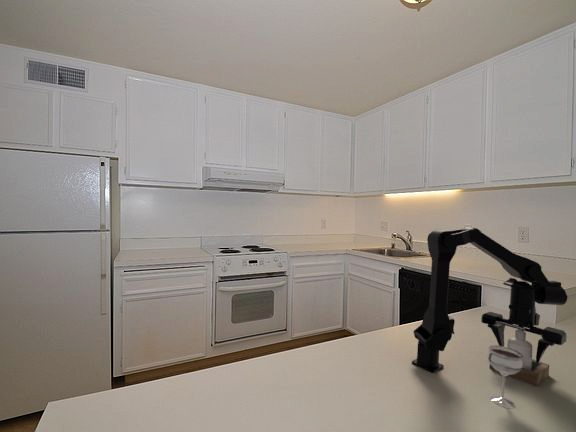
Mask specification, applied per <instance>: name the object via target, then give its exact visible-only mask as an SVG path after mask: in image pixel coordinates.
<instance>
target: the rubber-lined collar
mask: <svg viewBox="0 0 576 432" xmlns="http://www.w3.org/2000/svg"><path fill="white" fill-rule="evenodd" d="M489 369H492V370H495V369H494V368H493V366H492V365H491V364H490V363H489ZM495 371H496V372H498V371H497V370H495ZM549 375H550V364H549V363H545V362H541V361H539V363H537V362H536V359H533V358H532V368H531V370H528V369H525V368H523V367H522V369H521V371H520V372H518V373H516V374H514V375H508V376H510V377H512V378H514V379H517V380H520V381H522V382H525V383H527V384H530V385H532V386H535V387H538V386H539V385H540V384H541V383H542V382H543V381H544V380H546V379H547V377H549Z"/></svg>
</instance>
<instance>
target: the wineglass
mask: <svg viewBox="0 0 576 432" xmlns="http://www.w3.org/2000/svg"><path fill="white" fill-rule="evenodd" d="M488 350H489V351H488V353H487V360H488V362H489V365H490V364H491V365H492V366H493V368H494V369H495V371H496V370H497V371H496V372H499V374H500V375H501V396H500V395H498V394H497V395H494V394H493V395H490V396H489V398H490V400H491V402H493V403H494V404H495V405H498V406H500V407H502V408H506V409H514V408H516V406H517V405H516V404H515V403H514V402H513V401H512V400H511V399H508V398H507V397H505V389H506V388H505V387H506V379H507V376H509V375H514V374H516V373H518V372H520V371H521V369H522V366H523V363H522V360H521V358H522V357H523V355H522V354H521V353H519V352H518V351H516V350H513V349H510V348H507V346H504V347H503V346H499V345H494V344H492V345H489V346H488ZM494 369H493V370H494Z"/></svg>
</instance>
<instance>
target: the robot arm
mask: <svg viewBox="0 0 576 432" xmlns="http://www.w3.org/2000/svg"><path fill="white" fill-rule="evenodd" d="M426 238H427V239H426V241H427V248H428V249H427V250H428V252H429V255H430V258H431V267H430V268H431V270H430V284H429V285H430V286H429V300H428V301H429V302H428V307H427V310H426V311H425V312H424V314H423V317H422V318H423V319H422V322H421V324H420V325H418V327H417V328H415V329H414V330H413V335H414V339H416V340H417V354H416V358H415V359H413V360H411V363H412V364H414V365H415V366H417V367H420V368H422V369H424V370H426V371H428V372H430V373H436V372H437V371H438V370H441V369H443V368H444V366H445V365H444V364H442V363H439V362H440V352H444V351H445V350H446V347H447V344H448V343H449V341H451V340H452V337H453V335H455V334H456V333H455V331H454V326H455V320H456V319H454V318H453V317H451V316H450V315H449V314H448V299H449V281H450V265H451V261H452V260H453V258H454V256H455V255H456V251H457V248H458V247H460V246H465V245H467V244H471V245H472V246H474V247H475V248H476V249H478V250H479V251H482V252H483V253H484V254H486V255H487V256H489V257H491V258H492V259H494V260H495V261H497V263H499V264H500V265H501V267H502V269H504V270H505V271H506V272H507V273H508V274H509V275H510V276H511V277H510V278H508V279H507V280H505V281H504V282H503V283H502V284H503V285H505V286H508V287H510V295H509V296H510V297H509V298H510V299H509V304H508V309H509V311H508V313H509V315H508V316H509V317H508V318H504V316H503V314H501V313H497V312H493V311H487V312H484V313H483V314H482V315H481V318H480V319H481V321H480V322H481V323H483V324H486V325H487V328H489V329H490V330H491V331H492V333H493V335H494V337H495V339H496V341H497V344H498V346H503V347H505V329H506V327H510V328H514V329H515V330H518V329H519V328H520V329H521V330H523V331H524V332H526V333H527V332H528V333H531V334H535V335H539V336H541V338H540V339H538V340H537V341H538V342H537V347H536V353H535V354H536V355H535V360H536V362H537V363H539V362H541V359H542V357H543V356H544V354H545V352H546V351H547V348H549V346H550V347H553V346H555V345H557V346H562V345H564V344H565V343H566V342H567V333H566V332H565V330H562V329H559V328H554V327H552V326H546V327H545V328H541V327H539V324H540V319H541V315H540V314H539V313H537V309H536V303H537V304H539V305H549V306H550V305H551V306H552V305H553V306H563V305H565V304H566V303H567V301H568V295H567V292H566V290H565V289H564V288H563V287H562V282H560V281H557V280H548V278H547V277H546V275H545V274H544V272H543V271H542V266H541V265H540V263H538V262H537V261H535V260H532V259H530V258H527V257H525V256H522V255H518V254H516V253H514V252H512V251H511V250H510V249H507V248H506V247H505V246H504V245H502V244H500V243H498V242H497V241H495V240H494V239H493V238H491V237H489V236H488V235H486V234H485V233H484V232H483V231H481V230H480V229H478V228H477V227H464V228H460V229H453V230H443V229H442V230H441V229H440V230H439V229H436V230H433V231H431V232H430V233H429V234H428V235H427V237H426ZM513 277H514V278H513ZM517 279H520V280H517Z"/></svg>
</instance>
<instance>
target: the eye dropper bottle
mask: <svg viewBox="0 0 576 432" xmlns="http://www.w3.org/2000/svg"><path fill="white" fill-rule="evenodd" d="M526 339H527V331H523V330H521V329H520V328H519V329H515V332H514V337H510V338H508V340H507V346H506V347H507V348H510V349H513V350H516V351H518V352H519V353H521V354H522V355H523V357H522V358H521V360H522V363H523V366H522V367H523V368H525V369H528V370H531V368H532V359H533V344H532V343H531V342H530V341H528V340H526Z"/></svg>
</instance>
